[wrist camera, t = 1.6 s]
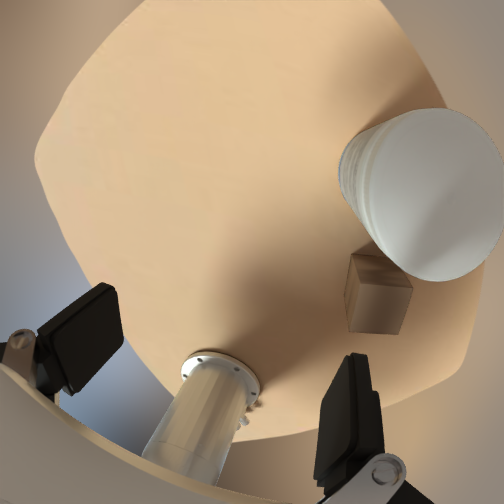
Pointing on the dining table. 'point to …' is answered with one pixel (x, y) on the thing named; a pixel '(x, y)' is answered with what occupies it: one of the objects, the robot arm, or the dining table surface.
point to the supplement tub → (427, 191)
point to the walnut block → (376, 295)
